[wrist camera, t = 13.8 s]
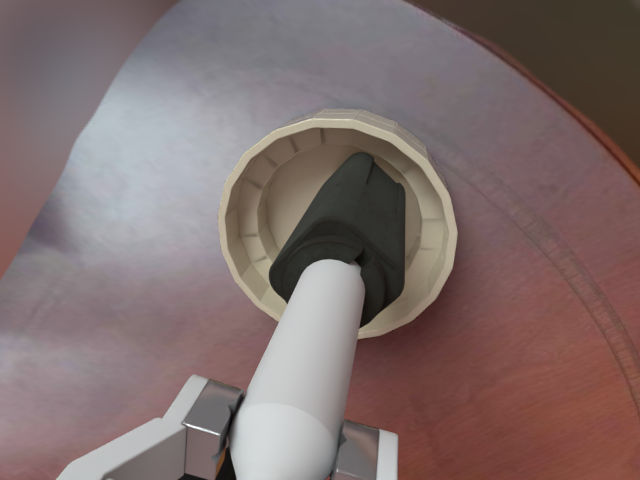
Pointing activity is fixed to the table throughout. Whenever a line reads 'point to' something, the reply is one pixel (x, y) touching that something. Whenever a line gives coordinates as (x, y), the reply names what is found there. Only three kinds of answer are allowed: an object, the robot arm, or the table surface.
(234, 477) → the cup
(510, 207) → the table surface
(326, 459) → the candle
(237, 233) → the bowl
